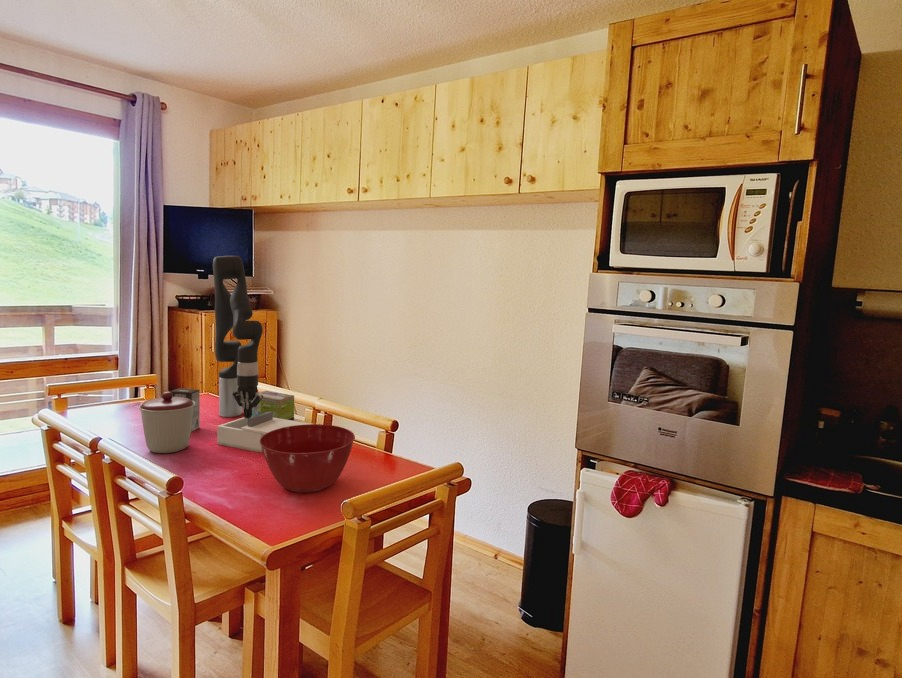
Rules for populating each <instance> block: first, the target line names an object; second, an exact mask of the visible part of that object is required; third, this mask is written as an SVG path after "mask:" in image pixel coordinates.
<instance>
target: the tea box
mask: <svg viewBox="0 0 902 678" xmlns="http://www.w3.org/2000/svg"><path fill="white" fill-rule="evenodd" d="M258 393H259V394H260V395H263V398H262V400H261V401H260V402H259V404H258V405H257V406H256V407H253V408H252V416H251V417H254V416H257V415H260V414H263V413H266V412H269V411H271V412H273V417H274V418H280V419H286V420H292V421H295V395H294V394H288V393H281V392H277V391H270V390H264V391H261V392H258ZM254 399H255V398H254Z"/></svg>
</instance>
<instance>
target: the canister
mask: <svg viewBox="0 0 902 678" xmlns="http://www.w3.org/2000/svg"><path fill="white" fill-rule="evenodd" d="M194 406H195V402H194V401H192V400H190V399H188V398H184V397H173V394H172V393H171V391H164V392H162V394H161V397H155V398H151V399H148V400H145V401H144V402H142V403H141V404H139V405H138V408H137V409H138V410H140V415H141V420H142V421H141V422H142V427H143V428H142V429H143V434H144V439H145V444H146V447H147V449H148V450H149V451H150V452H152V453H155V454H170V453H177V452H179V451H182V450H185V449H186V448H187V447H188V446H189V444H190V440H191V439H190V438H191V433H192V432H191V426H192V416H193V407H194Z"/></svg>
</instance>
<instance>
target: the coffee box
mask: <svg viewBox="0 0 902 678" xmlns="http://www.w3.org/2000/svg"><path fill="white" fill-rule="evenodd" d="M170 392H171V393H172V394H173V397H184V398H188V399H190V400H192V401H194V402H195V406H194V407H193V416H192V426H191V433H192V432H193V431H196V430H198V429H200V426H201V425H200V423H201V421H200V414H201V413H200V411H201V410H200V409H201V408H200V389H194V388H184V387H178V388H176V389H173V390H170Z"/></svg>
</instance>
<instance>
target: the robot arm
mask: <svg viewBox="0 0 902 678" xmlns="http://www.w3.org/2000/svg"><path fill="white" fill-rule="evenodd" d="M212 271H213V272H212V273H213V282H214V285H213V286H214V319H215V320H214V321H215V345H214V356H215V360H216V361H217V362H221V363H232V365H230V366H227V367H226V368H222V369H221V370H219V372H218V405H219V406H218V408H219V409H218V410H219V411H218V413H219V414H218V415H219V416H220V417H224V418H232V417H238V416H241V415H243V417H244V418H251V416H252V408H253V407H256V406H257V405H258V404H259V402H260V401H261V400H262V398H263V395H260V394H259V393H260V392H259V389H258V385H259V364H258V362H259V361H258V350H259V346H260V342H261V338H262V335H263V331H264V330H263V325H262V323H261V322H260V321H258V320H251V319H252V317H253V309H252V306H251V303H250V299H249V295H248V285H247V279H246V273H245V268H244V262H243V260H242V258H241V256H239V255H223V256H221V255H220V256H214V258H213V260H212ZM235 279H236V281H237V282H236V285H235V287H234V289H233V290H232V293H231V292H230V291H229V290H228V289H227V287H226V285H225V284H224V280H235ZM231 330H232V332H231V333H232V336H233V337H234V338H235V339H236V340H225V339H226V336H227V335H228V333H229V332H230V331H231ZM240 340H241V341H243V340H250V341H249V342H248V343H247V344H244V345H242V343H241V341H240ZM254 398H255V399H254Z"/></svg>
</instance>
